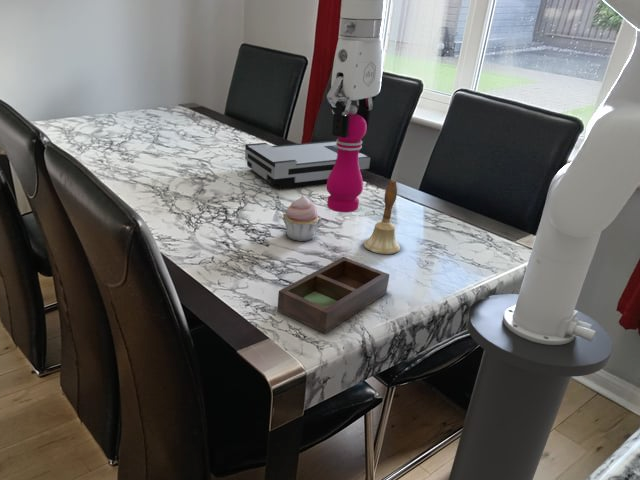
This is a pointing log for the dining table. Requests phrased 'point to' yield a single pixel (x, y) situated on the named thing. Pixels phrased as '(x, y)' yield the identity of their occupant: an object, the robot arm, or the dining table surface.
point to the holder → (332, 294)
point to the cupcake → (301, 220)
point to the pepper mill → (347, 167)
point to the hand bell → (385, 227)
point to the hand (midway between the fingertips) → (350, 132)
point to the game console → (296, 163)
